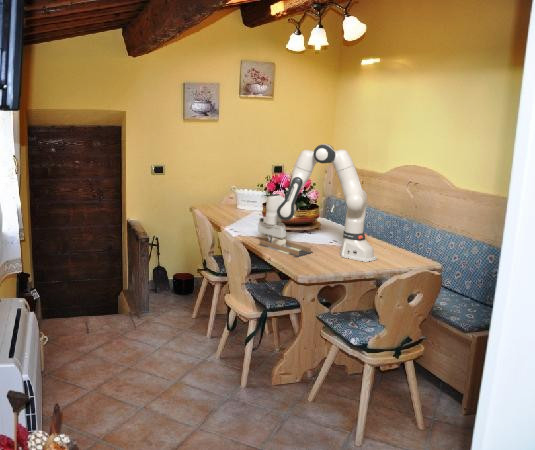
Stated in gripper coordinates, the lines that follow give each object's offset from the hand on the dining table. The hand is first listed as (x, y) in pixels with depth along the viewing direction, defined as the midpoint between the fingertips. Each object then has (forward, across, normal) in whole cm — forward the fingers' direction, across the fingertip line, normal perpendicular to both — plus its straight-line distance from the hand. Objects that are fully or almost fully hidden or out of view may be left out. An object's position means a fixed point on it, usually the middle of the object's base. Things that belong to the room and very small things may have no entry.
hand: (271, 242), depth 330 cm
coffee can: (+2, +16, -19) cm, 25 cm away
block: (+1, -6, 0) cm, 6 cm away
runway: (+2, -11, 0) cm, 11 cm away
